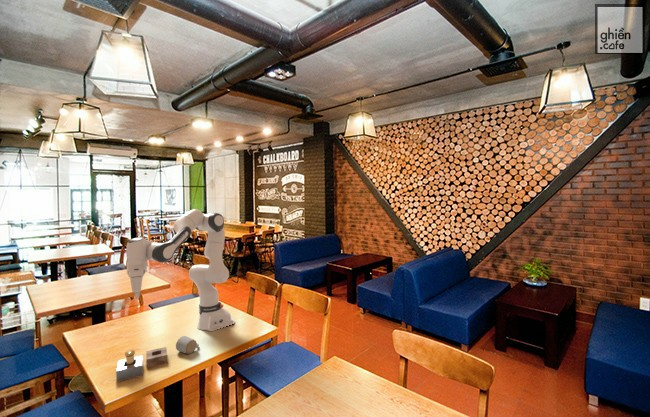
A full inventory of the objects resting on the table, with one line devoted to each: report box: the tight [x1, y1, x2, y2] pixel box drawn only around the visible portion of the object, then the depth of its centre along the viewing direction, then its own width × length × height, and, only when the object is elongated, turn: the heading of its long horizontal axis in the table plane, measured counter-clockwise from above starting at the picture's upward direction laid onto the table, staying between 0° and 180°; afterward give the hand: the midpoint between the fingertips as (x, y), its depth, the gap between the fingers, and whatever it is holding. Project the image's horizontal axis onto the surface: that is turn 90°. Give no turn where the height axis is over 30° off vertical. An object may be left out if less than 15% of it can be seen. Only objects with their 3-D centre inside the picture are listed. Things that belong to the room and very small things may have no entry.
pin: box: [124, 349, 136, 366], centre depth 143 cm, size 4×4×10 cm
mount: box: [145, 346, 168, 368], centre depth 153 cm, size 9×9×4 cm
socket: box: [115, 355, 144, 383], centre depth 143 cm, size 10×10×5 cm
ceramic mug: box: [175, 335, 200, 355], centre depth 164 cm, size 11×8×8 cm
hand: (137, 295), depth 158 cm, fingers open, 8 cm apart
